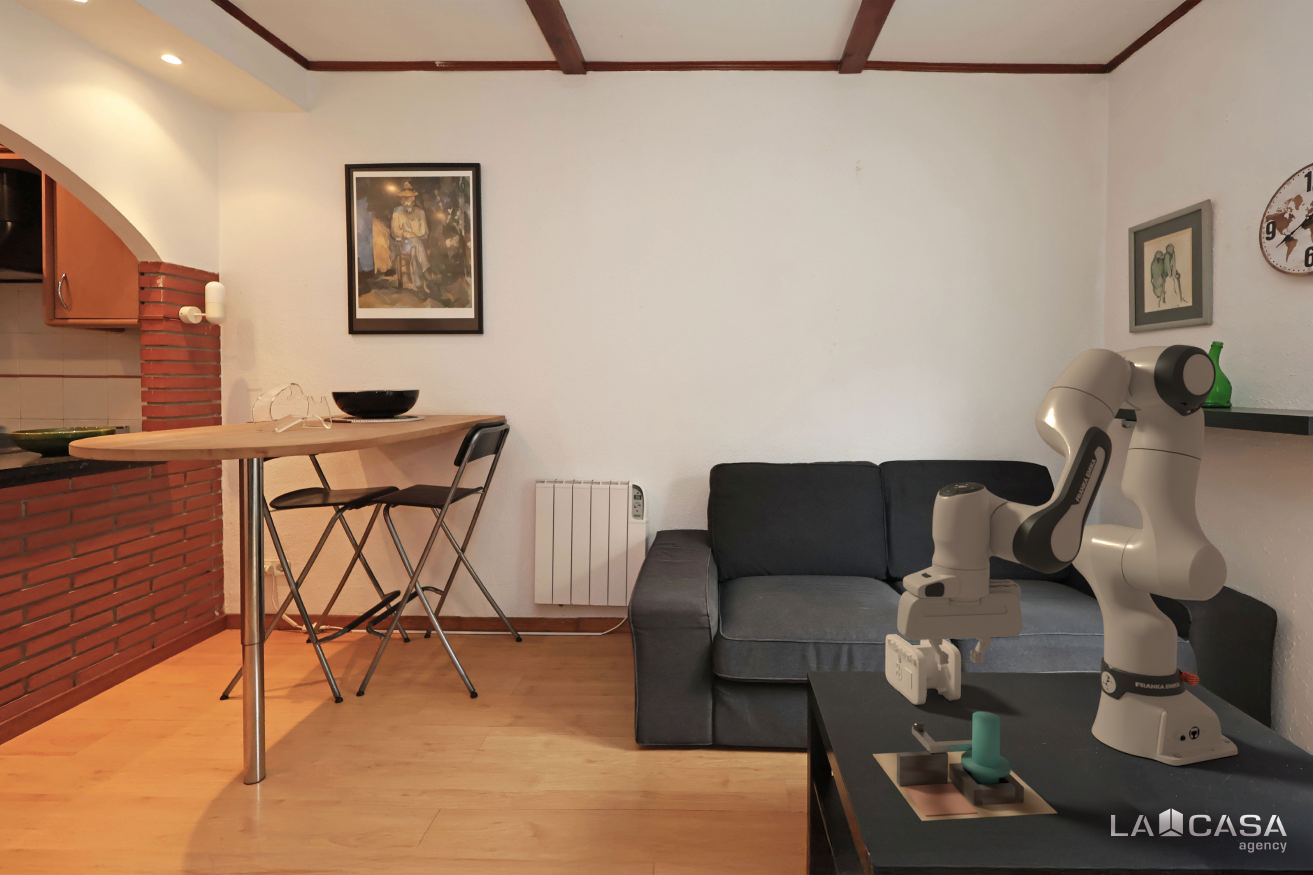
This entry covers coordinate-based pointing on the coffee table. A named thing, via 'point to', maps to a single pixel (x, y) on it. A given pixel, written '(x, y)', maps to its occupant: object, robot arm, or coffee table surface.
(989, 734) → the plug
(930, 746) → the lever
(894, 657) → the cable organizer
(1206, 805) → the coffee table surface
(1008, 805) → the socket board
